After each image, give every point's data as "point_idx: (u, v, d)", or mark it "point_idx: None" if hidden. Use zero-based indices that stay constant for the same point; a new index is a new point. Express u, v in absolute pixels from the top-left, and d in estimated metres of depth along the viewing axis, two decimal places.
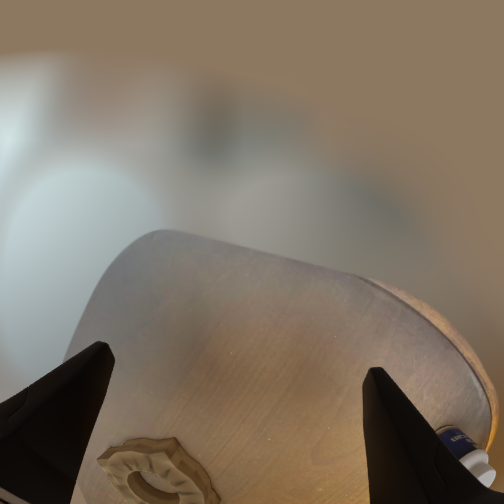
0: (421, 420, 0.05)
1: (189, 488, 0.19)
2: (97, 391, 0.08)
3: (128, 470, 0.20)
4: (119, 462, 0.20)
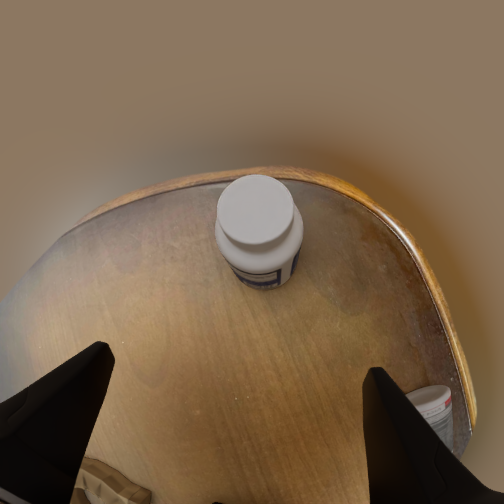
0: (421, 420, 0.05)
1: (93, 482, 0.15)
2: (97, 391, 0.08)
3: None
4: None
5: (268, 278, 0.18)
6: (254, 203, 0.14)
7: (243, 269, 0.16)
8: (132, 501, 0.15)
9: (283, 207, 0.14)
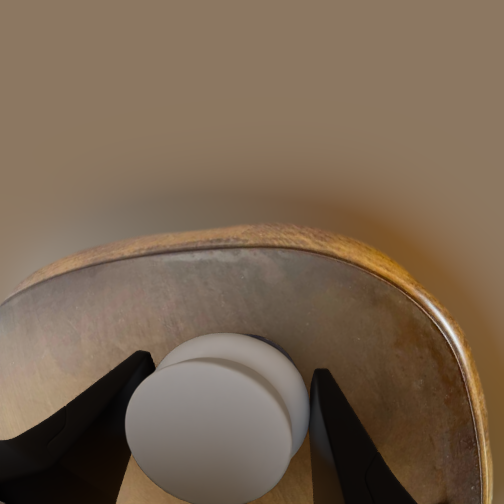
0: (359, 428, 0.05)
1: None
2: None
3: None
4: None
5: None
6: (200, 435, 0.05)
7: None
8: None
9: (265, 451, 0.05)
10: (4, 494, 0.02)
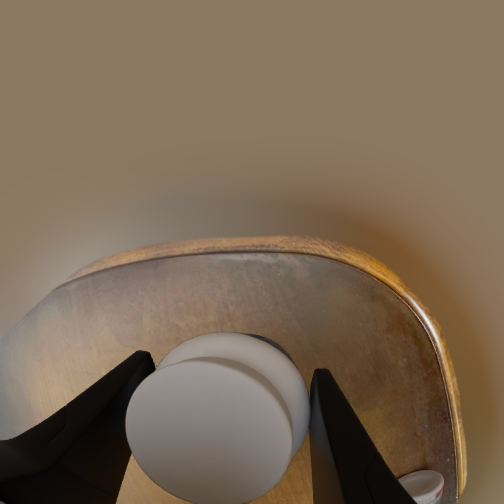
0: (359, 428, 0.05)
1: None
2: None
3: None
4: None
5: None
6: (201, 435, 0.05)
7: None
8: None
9: (266, 450, 0.05)
10: (4, 494, 0.02)
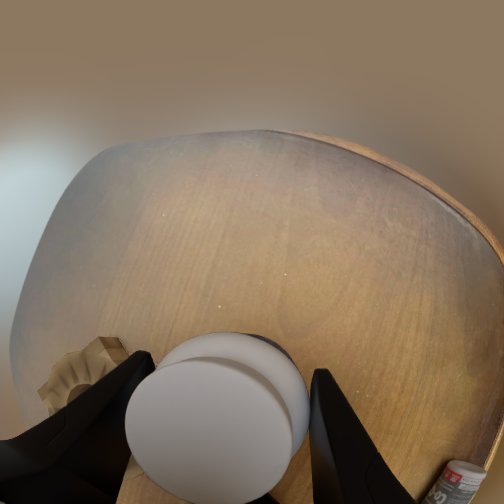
0: (359, 428, 0.05)
1: None
2: None
3: (66, 390, 0.17)
4: (57, 381, 0.17)
5: None
6: (201, 435, 0.05)
7: None
8: None
9: (266, 451, 0.05)
10: (4, 494, 0.02)
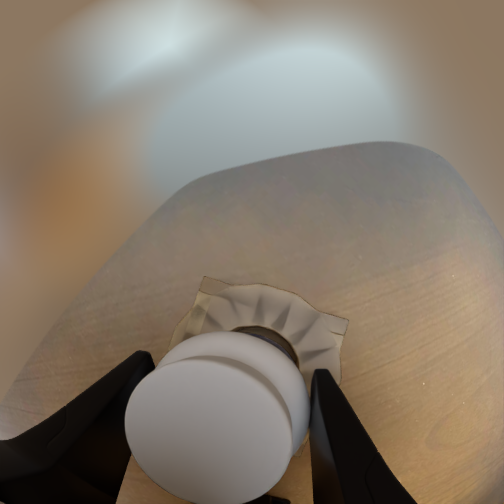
0: (359, 428, 0.05)
1: None
2: None
3: (251, 320, 0.18)
4: (249, 300, 0.18)
5: None
6: (200, 434, 0.05)
7: None
8: (302, 449, 0.15)
9: (266, 450, 0.05)
10: (4, 494, 0.02)
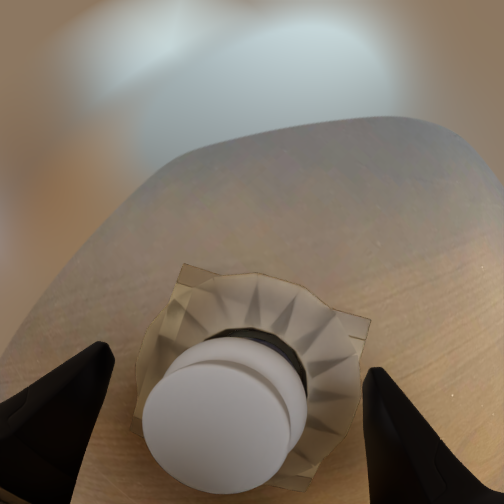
0: (421, 420, 0.05)
1: (335, 416, 0.11)
2: (97, 391, 0.08)
3: (243, 320, 0.13)
4: (241, 294, 0.14)
5: None
6: (210, 429, 0.06)
7: None
8: (309, 483, 0.10)
9: (267, 442, 0.06)
10: None
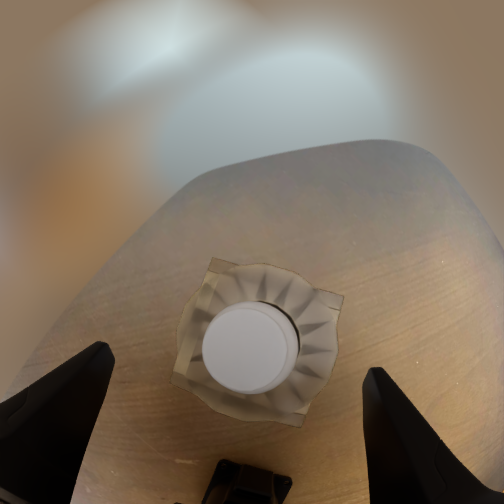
0: (421, 420, 0.05)
1: (320, 365, 0.18)
2: (97, 391, 0.08)
3: (255, 296, 0.20)
4: (254, 278, 0.20)
5: None
6: (243, 345, 0.12)
7: (233, 390, 0.14)
8: (303, 419, 0.17)
9: (275, 352, 0.12)
10: None
